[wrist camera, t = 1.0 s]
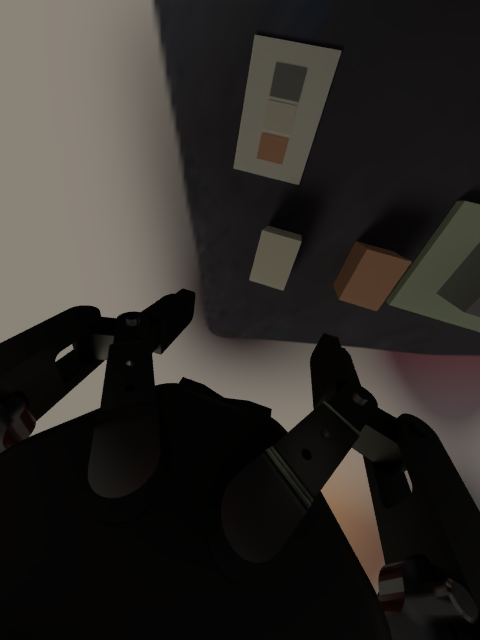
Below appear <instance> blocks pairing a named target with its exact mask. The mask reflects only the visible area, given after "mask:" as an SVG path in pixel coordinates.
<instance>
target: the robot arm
mask: <svg viewBox="0 0 480 640" xmlns="http://www.w3.org/2000/svg"><path fill="white" fill-rule="evenodd" d="M194 305H195V292H193V291H189V290H186V289H181V290H180V291H178V292H177V293H176V294H169V295H166V296H164V297H162V298H161V299H160V300H158V301H156V302H155V303H154V304H152V305H151V306H149V307H148V308H146V309H145V310H143V311H142V312H127V313H123V314H121V315H119V316H118V317H117V318H108V317H101V314H100V310H99V309H98V308H96V307H93V306H76V307H72V308H70V309H68V310H66V311H64V312H62V313H60V314H58V315H56V316H54V317H52V318H50V319H48V320H46V321H44V322H42V323H40V324H38V325H36V326H34V327H32V328H30V329H28V330H26V331H24V332H22V333H20V334H18V335H16V336H14V337H12V338H10V339H8V340H6V341H4V342H2V343H0V640H480V511H479V510H478V508H477V506H476V504H475V502H474V501H473V499H472V497H471V495H470V494H469V492H468V490H467V488H466V487H465V484H464V483H463V481H462V479H461V477H460V475H459V473H458V472H457V470H456V468H455V466H454V465H453V463H452V461H451V459H450V457H449V456H448V454H447V452H446V450H445V448H444V447H443V445H442V443H441V441H440V439H439V437H438V436H437V434H436V433H435V432H434V431H433V429H431V428H430V426H428V425H427V424H426V423H425V422H423V421H422V420H421V419H419V418H417V417H415V416H413V415H411V414H402V415H400V416H399V417H398V418H395V417H393V416H392V415H390V414H388V413H386V412H385V411H383V410H381V409H380V408H378V404H377V401H376V399H375V398H374V396H373V395H372V394H371V393H370V392H369V391H368V390H366V389H365V388H363V387H361V384H360V382H359V379H358V376H357V373H356V370H355V369H354V368H355V367H354V364H353V363H352V359H351V356H350V354H349V353H348V352H347V351H346V350H345V348H342V347H341V345H340V342H339V339H338V337H335V336H332V335H329V334H326V333H324V334H323V335H322V336H321V338H320V340H319V342H318V344H317V346H316V347H315V349H314V351H313V353H312V355H311V359H310V369H311V380H312V393H313V406H314V410H313V411H312V412H311V413H310V414H309V415H308V416H307V417H305V418H304V419H303V420H302V421H301V422H300V423H298V424H297V425H296V426H295V427H294V428H293V429H292V430H290V431H289V432H287V431H286V430H285V429H284V428H283V427H282V426H281V425H280V424H279V423H278V422H277V421H276V420H274V419H273V418H271V410H272V409H270V408H267V407H265V406H262V405H259V404H256V403H253V402H251V401H246V400H238V399H229V398H224V397H222V396H221V395H219V394H218V393H216V392H214V391H213V390H211V389H210V388H208V387H207V386H205V385H204V384H201V383H198V382H195V381H192V380H190V379H187V378H184V377H183V378H182V379H181V381H180V382H179V384H178V383H166V384H160V385H156V386H155V382H154V371H153V360H152V353H153V352H155V353H157V354H162V353H163V352H164V351H165V350H166V349H167V348H168V346H169V345H170V344H171V343H172V342H173V341H174V340H175V339H176V338H177V337H178V335H179V334H180V333H181V332H182V331H183V330H184V329H185V328H186V327H187V326H188V324H189V323H190V322H191V320H192V318H193V314H194ZM71 344H72V345H73V348H74V350H72V351H71V352H69V353H68V354H66V355H65V356H64V357H62V358H61V359H59V360H58V361H57V362H55V359H56V356H57V355H58V354H59V352H60V351H62V350H63V349H65V348H66V347H68V346H69V345H71ZM105 360H107V364H106V371H105V379H104V386H103V392H102V399H101V407H100V408H99V409H96V410H94V411H92V412H89V413H87V414H84V415H82V416H79V417H77V418H74V419H72V420H70V421H67V422H65V423H62V424H60V425H58V426H55V427H52V428H50V429H48V430H45V431H43V432H40V433H38V434H35V435H33V436H31V437H29V436H30V434H31V433H32V432H33V430H34V428H35V425H36V421H37V420H38V419H39V418H41V417H42V416H43V415H44V414H45V413H46V412H47V411H48V410H49V409H51V408H52V407H53V406H54V405H55V404H56V403H57V402H59V401H60V400H61V399H62V398H63V397H64V396H65V395H66V394H68V393H69V392H70V391H71V390H72V389H73V388H74V387H75V386H76V385H78V384H79V383H80V382H81V381H82V380H83V379H84V378H85V377H87V376H88V375H89V374H90V373H91V372H92V371H93V370H94V369H96V368H97V367H98V366H99V365H100V364H101V363H102V362H104V361H105ZM351 448H353V449H355V450H356V451H358V452H359V453H361V454H362V455H363V458H364V463H365V468H366V473H367V477H368V482H369V487H370V492H371V496H372V501H373V506H374V511H375V516H376V521H377V526H378V531H379V535H380V540H381V545H382V550H383V554H384V560H385V566H383V567H382V568H381V570H380V573H379V578H378V579H379V580H378V585H379V592H378V595H377V594H376V592H375V590H374V588H373V586H372V584H371V582H370V580H369V578H368V576H367V575H366V573H365V571H364V569H363V567H362V566H361V564H360V562H359V560H358V558H357V556H356V555H355V553H354V551H353V549H352V547H351V545H350V544H349V542H348V540H347V538H346V536H345V535H344V533H343V531H342V529H341V528H340V525H339V524H338V522H337V520H336V518H335V516H334V514H333V513H332V511H331V509H330V507H329V505H328V504H327V502H326V500H325V498H324V496H323V494H322V493H321V491H320V490H321V489H322V488H323V486H324V485H325V483H326V482H327V481H328V479H329V478H330V477H331V475H332V474H333V472H334V471H335V469H336V468H337V467H338V466H339V464H340V463H341V461H342V460H343V459H344V457H345V456H346V454H347V453H348V451H349V450H350V449H351ZM406 470H407V471H408V474H409V476H410V479H411V482H412V487H413V488H412V493H411V490H410V487H409V484H408V481H407V479H406V476H405V473H404V471H406Z"/></svg>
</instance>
